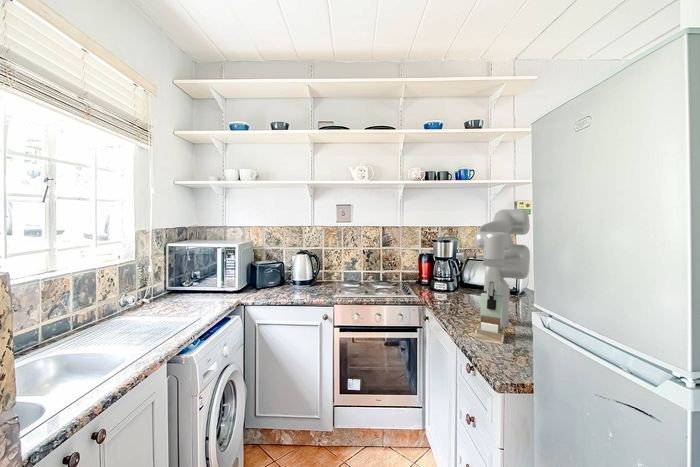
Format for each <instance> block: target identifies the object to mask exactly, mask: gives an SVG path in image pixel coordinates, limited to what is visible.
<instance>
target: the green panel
mask: <svg viewBox="0 0 700 467" xmlns="http://www.w3.org/2000/svg"><path fill="white" fill-rule="evenodd" d="M487 299H488V294H487V293H486V292H485V293H483V292H482V293H481V294H480V315H479V316H480V317H479V318H480V320H479V323H481V315H484V316H490V317H497V318H500V329H502V316H503V296H502V295H496V298H495V300H496V310H491V309H487Z"/></svg>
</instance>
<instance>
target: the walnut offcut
mask: <svg viewBox="0 0 700 467" xmlns="http://www.w3.org/2000/svg"><path fill="white" fill-rule="evenodd" d="M481 322H484V323H490V324H496V325H498V331H500V318H497V317H490V316H484V315H481ZM479 323H480V322H479ZM480 328H481V323H480Z"/></svg>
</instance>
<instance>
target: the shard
mask: <svg viewBox="0 0 700 467" xmlns="http://www.w3.org/2000/svg"><path fill="white" fill-rule="evenodd" d="M467 324H470V325H474V326H478V323H476V322H475V321H467Z"/></svg>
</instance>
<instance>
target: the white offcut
mask: <svg viewBox="0 0 700 467" xmlns="http://www.w3.org/2000/svg"><path fill="white" fill-rule="evenodd" d="M481 330H484V331H490V332H495V333H498V325H496V324H490V323H484V322H481Z"/></svg>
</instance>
